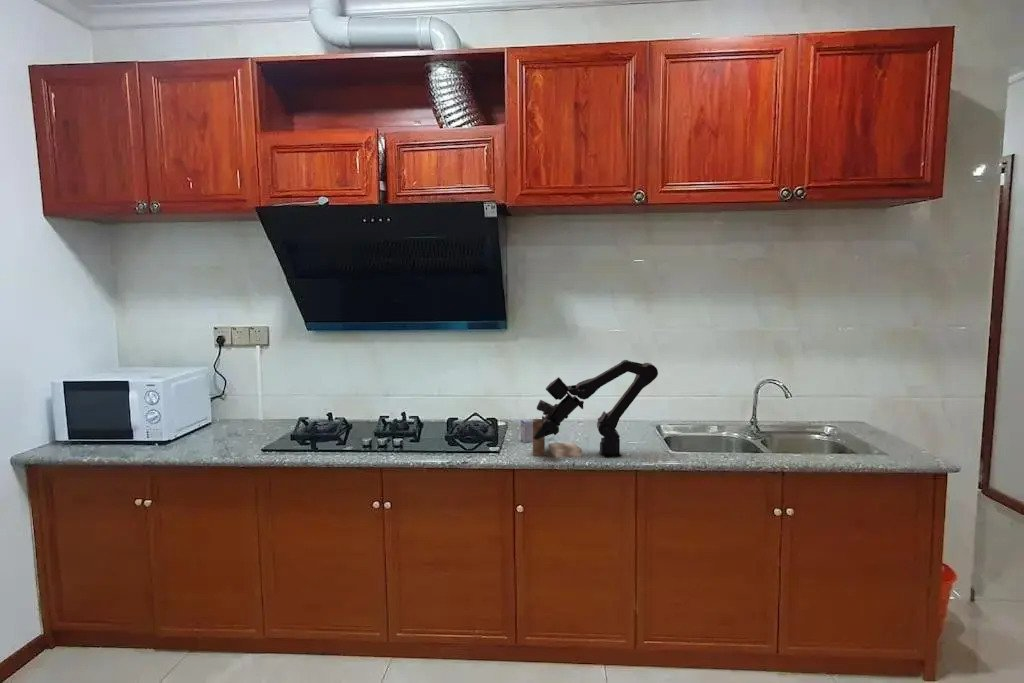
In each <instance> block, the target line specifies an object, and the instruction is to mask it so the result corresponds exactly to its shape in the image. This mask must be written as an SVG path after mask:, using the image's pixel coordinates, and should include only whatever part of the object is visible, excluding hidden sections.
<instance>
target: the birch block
mask: <svg viewBox="0 0 1024 683" xmlns="http://www.w3.org/2000/svg"><path fill="white" fill-rule="evenodd" d="M548 452H549V453H551V455H553V456H554V458H556V459H557V458H559V459H560V458H570V457H572V458H573V457H582V448H580V446H579V445H577V444H576V443H575V442H573V441H571V442H557V443H548Z"/></svg>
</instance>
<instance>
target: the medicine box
mask: <svg viewBox="0 0 1024 683" xmlns="http://www.w3.org/2000/svg"><path fill="white" fill-rule="evenodd" d="M533 419H534V418H527V419H525V418H524V419H520V441H521V440H522V441H521V442H523V443H524V442H526V443H533ZM535 419H539V418H537V417H536V418H535Z"/></svg>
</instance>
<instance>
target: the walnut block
mask: <svg viewBox="0 0 1024 683" xmlns="http://www.w3.org/2000/svg"><path fill="white" fill-rule="evenodd" d="M532 419H533V442H532V456H533V457H536V456H540V457H545V452H546V451H545V450H546V449H545V441H546V439H545V437H546V436H545V437H542V438H539V439H535V438H534V437H535V435H536V434H537V433H538V431H539V430H540V429H541V427H542V421H544V420H545V419H542V418H538V419H536V418H532Z"/></svg>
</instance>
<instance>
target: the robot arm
mask: <svg viewBox="0 0 1024 683" xmlns="http://www.w3.org/2000/svg"><path fill="white" fill-rule="evenodd" d="M625 373H632V374H634V375H635V377H634V379H633V381H632V382H631V384H630V385H629V387H628V388H627V390H626V391H625V392H624V393H623V394H622V395H621V397H620V398H619V400H617V402H616V403H615V404H614V406H613V407H612V409H610V411H608V412H606V411H605V410H604V411H603V412H602V413H601V415H600V416H599V417H598V418H597V423H596V428H597V430H598V433H599V434H600V435H601V436H602V437H601V439H600V440H601V441H599V453H598V454H601V455H602V456H603V457H604V458H612V457H613V456H616V457H621V456H622V454H621V453H620V452H621V450H620V447H621V446H620V445H621V443H620V440H621V436H620V434H619V432H618V430H617V429H616V428H617V426H618V424H619V421H620V418H621V417H622V416H623V415H624V413H625V412H626V410H628V408H629V407H630V405H631V404H632V403H633V402H634V400H635V399H636V398H637V397H638V395H639V394H640V393H641V391H642V390H643V389H644V388H646V387H647V386H648V385H650V384H651V383H652V382H653V381H655V379H657V378H658V375H659V371H658V368H657V367H656V365H653V364H652V363H650V362H644V363H639V362H636V361H631V360H629V359H623V360H621V361H620V362H619V363H617V364H616V365H614V366H612V367H610V368H608V369H607V370H605V371H604V372H602V373H600V374H598V375H596V376H595V377H592V378H587V379H585V380H582V381H580V382H577V383H576V384H574V385H573V384H572V385H567V384H566V383H565V382H564V381H563V380H562V378H560V377H559V376H558V377H556V379H554V380H553V381H551V382H550V383H549V384H548V385H547V386H546V387H545V391H546V392H547V393H548V394H550V396H551V397H552V398H553V399H555V401H557V400H560V402H558V403H555V404H554V405H553V404H551V403H549V402H547V401H544V400H542V399H539V401H538V403H537V406H536V410H537V411H539V412H542V416H541V419H545V420H544V421H542V427H541V429H540V430H539V431H538V433H537V434H536V435H535V437H534V438H535V439H539V438H542V437H547V436H550V435H554V436H556V435H557V434H558V433H559V432H560V426H561V423H562V422H563V421H564V420H566V419H569V415H571V414H572V413H573V412H574V410H575V409H577V408H578V407H579V408H580V409H581V410H584V403H585V402H584V400H587V399H589V398H590V397H592V396H593V395H594V394H595V393H596V392H597V391H598V390H599V389H601V387H603V386H605V385H606V384H608V383H610V382H612V381H614V380H615V379H617V378H619V377H621V376H622V375H624V374H625ZM613 458H614V457H613Z"/></svg>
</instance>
